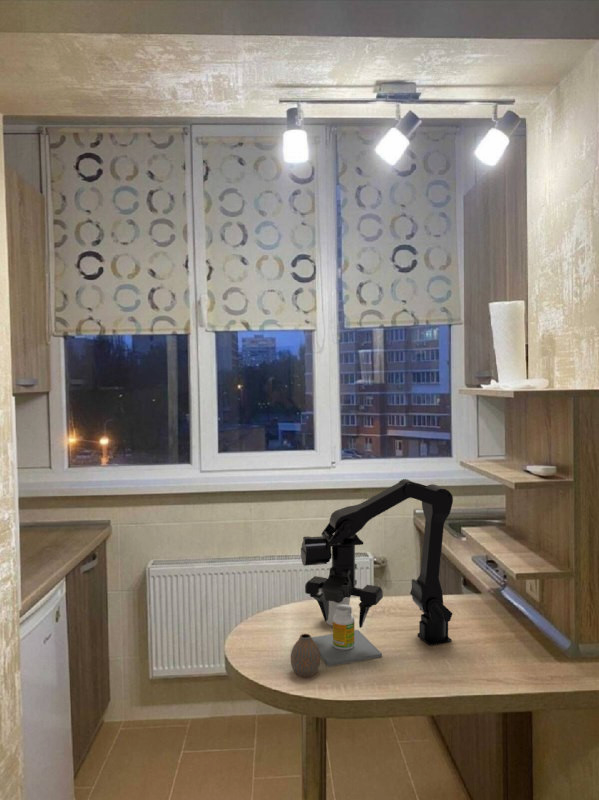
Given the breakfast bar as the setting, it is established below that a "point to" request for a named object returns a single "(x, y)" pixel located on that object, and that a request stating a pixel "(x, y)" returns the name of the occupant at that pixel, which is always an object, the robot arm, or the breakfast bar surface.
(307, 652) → the vase
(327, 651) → the slate mat
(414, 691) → the breakfast bar surface
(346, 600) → the cup
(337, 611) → the supplement bottle
